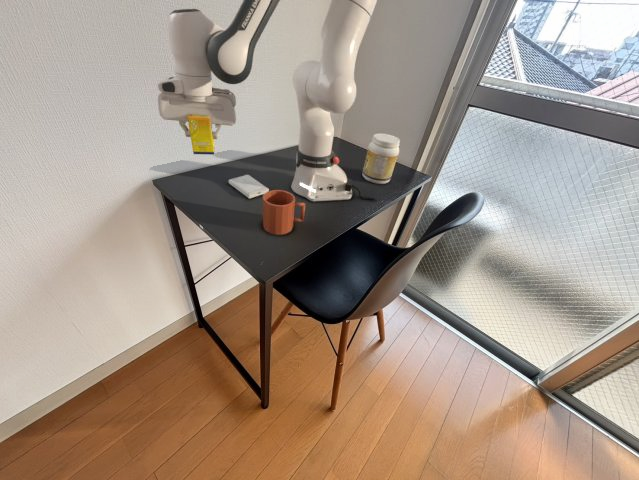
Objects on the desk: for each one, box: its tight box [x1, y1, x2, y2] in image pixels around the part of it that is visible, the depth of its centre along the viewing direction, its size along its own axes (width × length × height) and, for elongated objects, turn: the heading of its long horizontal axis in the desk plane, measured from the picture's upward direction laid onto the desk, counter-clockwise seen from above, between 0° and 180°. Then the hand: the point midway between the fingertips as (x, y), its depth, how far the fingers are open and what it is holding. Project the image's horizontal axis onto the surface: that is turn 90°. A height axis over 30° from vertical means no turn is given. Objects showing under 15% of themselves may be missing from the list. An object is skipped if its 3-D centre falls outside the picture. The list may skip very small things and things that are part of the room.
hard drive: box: [228, 174, 270, 199], centre depth 95 cm, size 2×8×12 cm
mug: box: [262, 189, 306, 236], centre depth 77 cm, size 12×9×10 cm
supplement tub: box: [361, 132, 401, 185], centre depth 109 cm, size 12×12×17 cm
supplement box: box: [187, 115, 215, 155], centre depth 81 cm, size 6×6×11 cm
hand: (202, 137), depth 82 cm, fingers closed on supplement box, 6 cm apart
